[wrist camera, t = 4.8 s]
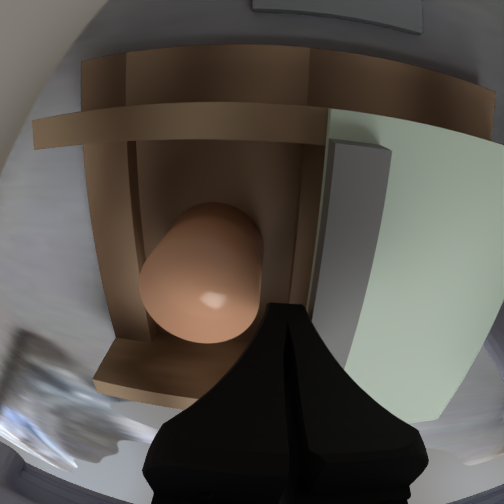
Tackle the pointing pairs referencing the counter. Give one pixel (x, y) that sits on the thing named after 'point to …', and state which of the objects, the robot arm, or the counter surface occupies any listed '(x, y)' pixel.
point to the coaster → (354, 11)
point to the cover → (407, 257)
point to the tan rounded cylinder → (205, 274)
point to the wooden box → (223, 174)
